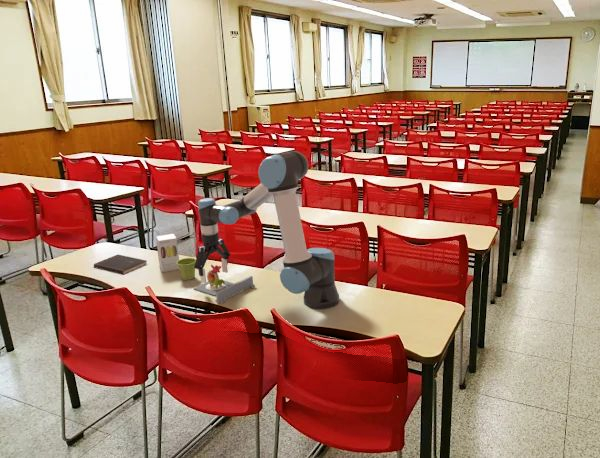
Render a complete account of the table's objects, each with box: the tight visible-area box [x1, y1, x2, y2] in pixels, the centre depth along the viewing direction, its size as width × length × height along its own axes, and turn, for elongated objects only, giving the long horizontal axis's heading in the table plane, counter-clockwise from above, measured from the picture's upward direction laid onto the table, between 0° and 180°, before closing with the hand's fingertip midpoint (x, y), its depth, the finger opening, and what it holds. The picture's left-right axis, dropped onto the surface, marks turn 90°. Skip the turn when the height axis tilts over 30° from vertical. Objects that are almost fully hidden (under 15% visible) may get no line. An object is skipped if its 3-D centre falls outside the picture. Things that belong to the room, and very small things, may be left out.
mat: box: [193, 278, 235, 297], centre depth 227 cm, size 14×14×1 cm
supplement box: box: [155, 233, 180, 273], centre depth 251 cm, size 10×9×17 cm
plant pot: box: [177, 257, 196, 281], centre depth 238 cm, size 9×9×9 cm
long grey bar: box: [215, 275, 255, 304], centre depth 219 cm, size 4×22×4 cm, turn 143°
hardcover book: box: [93, 254, 147, 275], centre depth 259 cm, size 16×23×2 cm
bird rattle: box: [206, 264, 225, 289], centre depth 225 cm, size 6×11×9 cm
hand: (214, 276), depth 225 cm, fingers open, 13 cm apart
